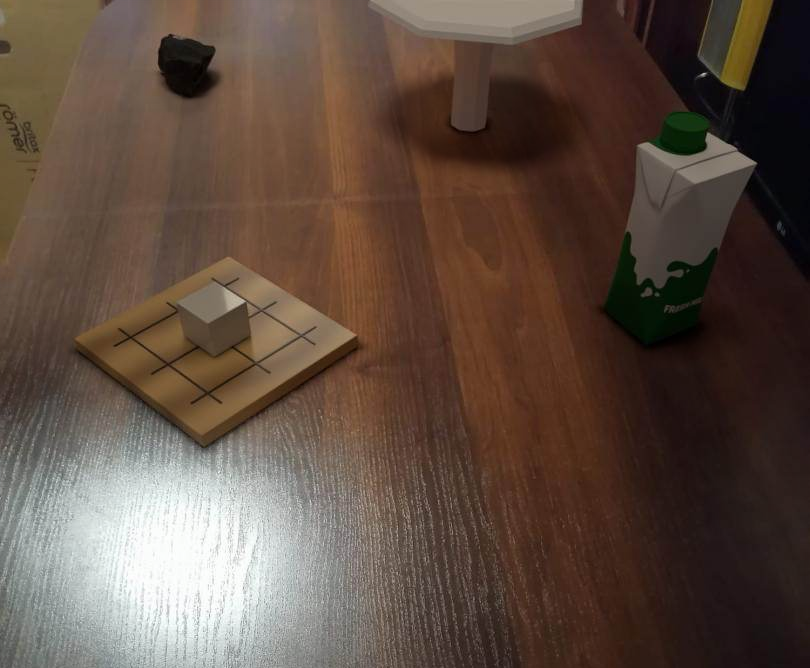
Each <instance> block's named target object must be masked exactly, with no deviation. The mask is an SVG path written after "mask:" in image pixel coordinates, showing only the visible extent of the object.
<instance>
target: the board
mask: <svg viewBox="0 0 810 668" xmlns="http://www.w3.org/2000/svg"><path fill="white" fill-rule="evenodd" d="M214 281H215V282H217V283H218V284H220V285H221V286H223V287H225V288H226V289H228V290H229V291H231V292H232V293H234V294H235V295H237V296H239V297H240V298H242V299H243V300H245V301H246V302H247V308H248V315H249V322H250V329H251V335H250V336H249V337H247V338H245V339H244V340H242V341H240V342H239V343H237V344H235V345H234V346H232V347H230V348H228V349H227V350H225V351H223V352H222V353H220V354H218V355H217V356H215V357H214V356H212V355H211V354H209V353H208V352H207V351H205V350H204V349H202V348H201V347H199V346H198V345H196V344H195V343H194V342H192V341H191V340H189V339H188V338H186V337H185V336H184V335H183V331H182V326H181V322H180V317H179V313H178V308H177V304H176V302H177V301H179V300H181V299H183V298H185V297H187V296H188V295H190V294H192V293H194V292H196V291H198V290H200V289H201V288H203V287H205V286H207V285H209V284H211V283H212V282H214ZM73 340H74V344H75V346H76V349H77V351H78V352H79V353H81V354H82V355H84V357H86V358H88V359H89V360H90V361H91V362H93V363H94V364H95V365H97V366H98V367H99V368H101V369H102V370H103V371H104V372H105V373H107V374H108V375H109V376H111V377H112V378H114V379H115V380H116V381H117V382H119V383H120V384H121V385H122V386H124V387H125V388H127V389H128V390H129V391H130V392H131V393H133V394H134V395H136V396H137V397H138V398H140V399H141V400H142V401H144V403H146V404H147V405H149V406H150V407H151V408H152V409H154V410H155V411H156V412H158V413H159V414H160V415H161V416H163V417H164V418H165V419H166V420H168V421H170V422H171V423H172V424H174V425H175V426H176V427H177V428H179V429H180V430H181V431H182V432H184V433H185V434H186V435H188V436H189V437H190V438H192V439H193V440H194V441H195V442H196V443H198V444H199V445H200V446H202V447H203V448H204V447H207V446H208V445H210V444H211V443H213V442H215V441H216V440H218V439H219V438H220V437H223V435H225V434H226V433H228V432H230V431H231V430H232V429H234V428H236V427H238V426H239V425H241V424H242V423H243V422H245V421H246V420H248V419H250V418H251V417H252V416H254V415H256V414H257V413H259V412H260V411H262V410H263V409H265V408H266V407H268V406H270V405H271V404H273V403H275V401H277V400H279V399H280V398H282V397H283V396H285V395H286V394H288V393H290V392H291V391H293V390H294V389H296V388H297V387H298V386H300V385H302V384H303V383H305V382H306V381H308V380H309V379H311V378H312V377H314V376H315V375H316V374H318V373H320V372H322V371H323V370H324V369H326V368H327V367H329V366H330V365H332V364H333V363H335V362H337V361H338V360H340V359H342V358H343V357H344V356H346V355H347V354H349V353H351V352H352V351H354V350H355V349H356V348H358V346H359V345H358V344H359V343H358V342H359V341H358V340H359V339H358V335H357V334H356V333H355V332H353V331H352V330H350V329H349V328H347V327H345V326H343V325H342V324H340V323H338V322H336V320H333V318H331V317H329V316H327V315H326V314H324V313H322V312H321V311H319V310H317V309H316V308H314V307H313V306H311V305H309V304H308V303H306V302H304V301H303V300H301V299H299V298H297V297H296V296H295V295H293V294H291V293H289V292H288V291H287V290H285V289H283V288H281V287H280V286H278V285H277V284H275V283H273V282H272V281H270V280H269V279H267V278H265V277H264V276H262V275H260V274H258V273H257V272H256V271H253V270H252V269H250V268H249V267H248V266H246V265H244V264H242V263H241V262H240V261H238V260H236V259H234V258H232V257H231V256H229V255H228V256H226V257H225V258H222V259H220V260H219V261H217V262H215V263H213V264H211V265H209V266H208V267H205V268H204V269H202V270H200V271H198V272H196V273H194V274H192V275H191V276H188V277H186V278H185V279H183V280H180V281H179V282H177V283H176V284H175V283H174V284H173V285H172V286H170V287H167V288H166V289H164V290H162V291H160V292H158V293H156V294H155V295H152V296H151V297H149V298H147V299H145V300H143V301H141V302H140V303H137V304H136V305H133V306H132V307H130V308H128V309H126V310H124V311H122V312H121V313H119V314H116V315H115V316H112V317H111V318H110V319H108V320H106V321H103V322H102V323H100V324H98V325H96V326H94V327H92V328H91V329H89V330H87V331H85V332H83V333H81V334H79V335H77V336H76V337H74V338H73Z"/></svg>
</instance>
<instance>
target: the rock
mask: <svg viewBox="0 0 810 668" xmlns="http://www.w3.org/2000/svg"><path fill="white" fill-rule="evenodd" d="M216 51H217V49H216V47H215V46H214V45H209V44H203V42H200V41H198V40H195V39H193V38H190V37H185V36H182V35H178V34H174V33H169V34H167V35H166V36H162V38H161V39H160V44H159V47H158V51H157V55H158V56H157V66H158V69H159V71H161V72H162V73H163V74H162V75H163V77H164V80H165V82H166V84H167V85H168V86H169V87H171V88H172V89H174V90H175V91H176V92H177V93H179V94H181V95H183V96H188V95H190V94H192V93H193V92H194V91H195V88H196V87H197V86H198V85H199V84H200V82H201V81H202V80H203V78H204V77H205V75H206V73H207V70H208V68H209V66H210V64H211V62H212V60H213V58H214V56H215V54H216Z"/></svg>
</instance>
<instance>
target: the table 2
mask: <svg viewBox="0 0 810 668" xmlns="http://www.w3.org/2000/svg"><path fill="white" fill-rule="evenodd" d="M367 7H368V8H369V9H371V10H373V11H375V12H376V13H378V14H379V15H382V16H384V17H385V18H387V19H389V20H391V21H392V22H394V23H395V24H397V25H398V26H401V27H403V29H406V30H407V31H408V32H411V33H413V34H414V35H415V36H418V37H419V38H429V39H441V40H452V41H454V42H453V43H454V45H453V47H454V48H453V49H454V76H453V77H454V79H453V87H452V88H453V89H452V99H451V100H452V101H451V114H450V116H451V117H450V126H452V127H454V128H455V129H457V130H458V131H465V132H476V131H479V130H482V129H485V127H486V123H487V115H488V104H489V95H490V94H489V93H490V92H489V91H490V76H491V67H492V66H491V65H492V60H493V54H494V50H495V49H494V47H495V44H498V45H499V44H500V45H510V46H514V45H517V44H520V43H524V42H527V41H530V40H534V39H537V38H540V37H543V36H544V37H545V36H548V35H550V34H554V33H557V32H560V31H564V30H567V29H571V28H574V27H577V26H580V25H582V24H583V23H582V22H583V12H584V11H583V9H584V0H369V1H368V3H367Z"/></svg>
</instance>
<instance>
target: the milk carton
mask: <svg viewBox="0 0 810 668" xmlns="http://www.w3.org/2000/svg"><path fill="white" fill-rule="evenodd" d="M709 129H710V121H709V120H708V119H707V117H705V116H704V115H702V114H699V113H696V112H693V111H688V110H676V111H672V112H669V113H668V114H666V115H665V117H664V120H663V124H662V127H661V131H660V133H659V135H657V136H656V137H655V138H653V139H649V140H646V142H642V143H639V144H637V145H636V158H635V159H636V160H635V183H634V194H633V198H632V202H631V207H630V210H629V215H628V218H627V223H626V227H625V231H624V235H623V239H622V244H621V248H620V252H619V256H618V261H617V265H616V268H615V272H614V274H613V278H612V281H611V284H610V286H609V290H608V293H607V296H606V299H605V303H604V306H603V310H604V311H605V312H606V313H607V314H608V315H610V316H611V317H612V318H613V319H615V320H616V321H617V322H618V323H619V324H620V325H622V326H623V327H624V328H625V329H626V330H628V332H630V333H631V334H632V335H634V337H636V338H637V339H638V340H639V341H640V342H642V344H644V345H645V346H649V345H651V344H653V343H656V342H658V341H661V340H664V339H666V338H668V337H671V336H673V335H676V334H678V333H681V332H683V331H686V330H688V329H690V328H693V327H695V326H697V325H698V321H699V317H700V313H701V310H702V309H701V308H702V305H703V301H704V298H705V295H706V294H705V293H706V290H707V287H708V284H709V281H710V278H711V275H712V272H713V269H714V267H715V264H716V261H717V258H718V254H719V252H720V249H721V246H722V242H723V241H724V237H725V235H726V232H727V229H728V225H729V223H730V219H731V217H732V215H733V212H734V210H735V208H736V205H737V204H738V202H739V200H740V198H741V196H742V194H743V192H744V190H745V187H746V186H747V184H748V182H749V180H750V178H751V176H752V174H753V173H754V171H755V169H756V167H757V165H758V162H756V161H755V160H752V159H751V158H749V157H748V156H746V155H745V154H743V153H741V152H739V149H738V148H736V146H734V145H732V144H729V143H726V141H724V140H722V139H720V138H719V137H717V136H715V135H714V134H711V133H710V132H709Z"/></svg>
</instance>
